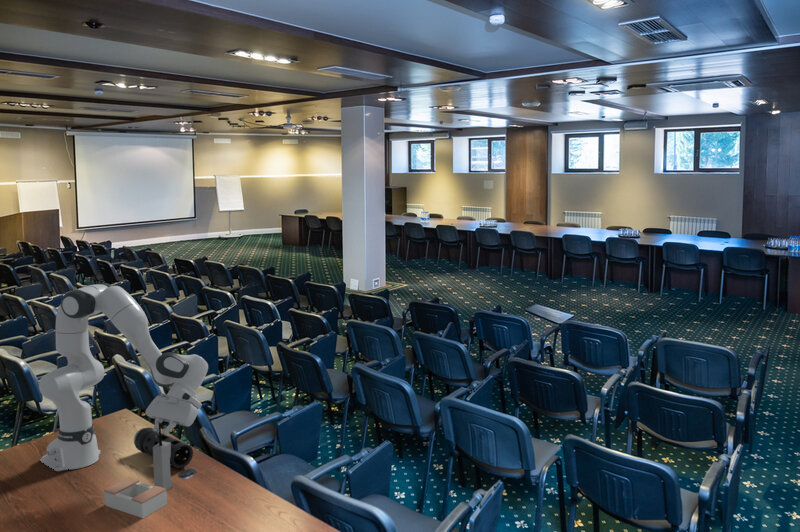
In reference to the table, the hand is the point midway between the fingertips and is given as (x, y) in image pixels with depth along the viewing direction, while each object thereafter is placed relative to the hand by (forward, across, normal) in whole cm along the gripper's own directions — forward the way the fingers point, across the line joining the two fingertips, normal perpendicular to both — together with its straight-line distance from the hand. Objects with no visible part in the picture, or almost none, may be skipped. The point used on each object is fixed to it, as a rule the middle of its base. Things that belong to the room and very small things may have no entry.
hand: (159, 432), depth 216 cm
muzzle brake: (+3, -19, +28) cm, 34 cm away
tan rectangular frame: (+23, 0, +7) cm, 24 cm away
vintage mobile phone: (+15, 0, +16) cm, 22 cm away
